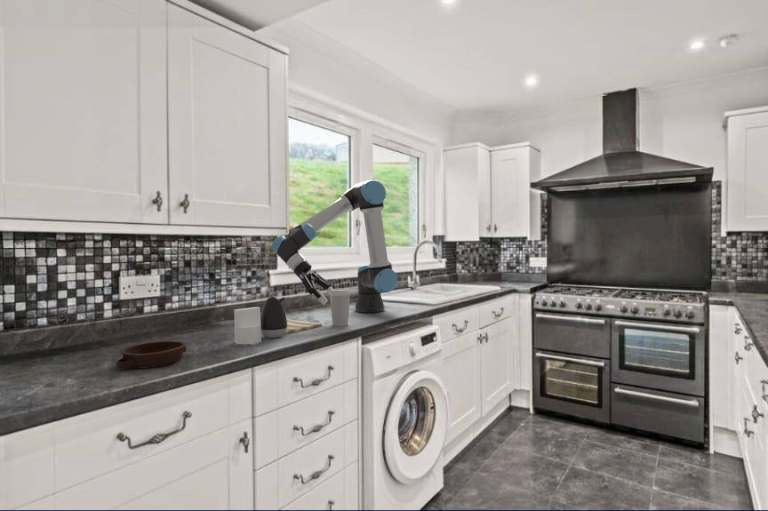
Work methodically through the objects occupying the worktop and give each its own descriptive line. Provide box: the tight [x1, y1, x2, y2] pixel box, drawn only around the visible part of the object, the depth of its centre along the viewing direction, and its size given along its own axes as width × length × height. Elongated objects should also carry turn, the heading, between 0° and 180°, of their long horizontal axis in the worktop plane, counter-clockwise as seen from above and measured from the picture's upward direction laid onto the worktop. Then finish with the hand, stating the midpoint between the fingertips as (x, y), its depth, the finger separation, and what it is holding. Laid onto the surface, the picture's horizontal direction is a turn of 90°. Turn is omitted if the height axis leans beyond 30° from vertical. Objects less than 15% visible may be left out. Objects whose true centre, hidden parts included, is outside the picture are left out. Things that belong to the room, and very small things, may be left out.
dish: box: [115, 340, 188, 369], centre depth 135 cm, size 18×22×5 cm
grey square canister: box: [233, 306, 262, 345], centre depth 162 cm, size 9×9×12 cm
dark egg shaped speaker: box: [260, 296, 288, 339], centre depth 170 cm, size 10×10×15 cm
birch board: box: [284, 319, 323, 335], centre depth 189 cm, size 20×20×1 cm
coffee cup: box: [328, 288, 352, 327], centre depth 193 cm, size 10×10×15 cm
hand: (332, 301), depth 193 cm, fingers open, 13 cm apart
